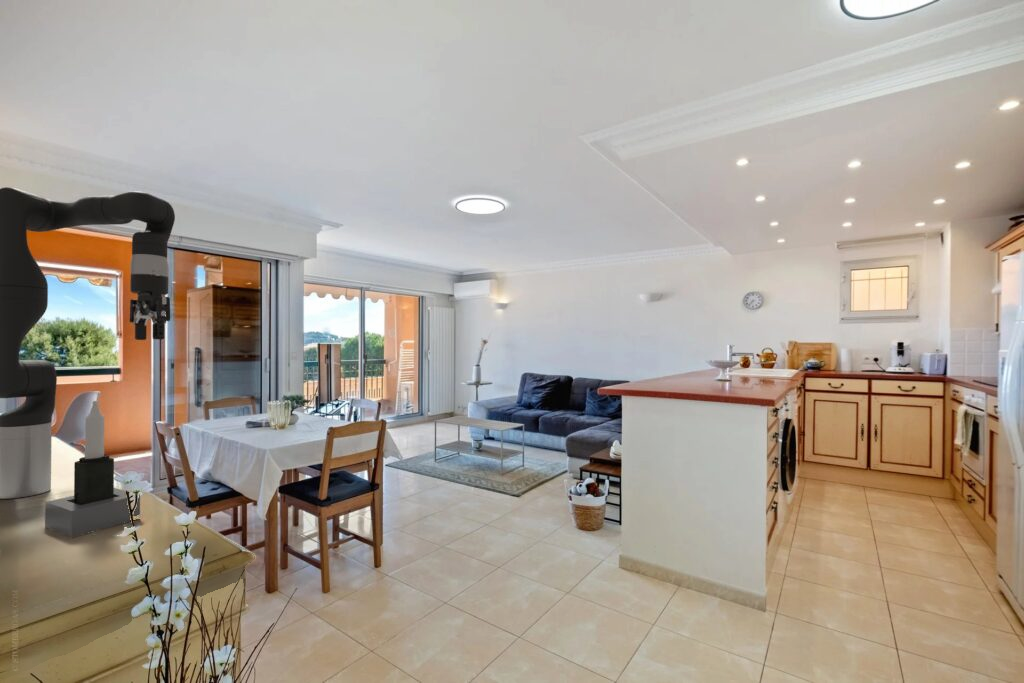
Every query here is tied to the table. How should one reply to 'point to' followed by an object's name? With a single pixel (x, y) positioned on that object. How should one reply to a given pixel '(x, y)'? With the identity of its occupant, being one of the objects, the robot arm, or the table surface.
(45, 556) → the table surface
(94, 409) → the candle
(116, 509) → the holder
